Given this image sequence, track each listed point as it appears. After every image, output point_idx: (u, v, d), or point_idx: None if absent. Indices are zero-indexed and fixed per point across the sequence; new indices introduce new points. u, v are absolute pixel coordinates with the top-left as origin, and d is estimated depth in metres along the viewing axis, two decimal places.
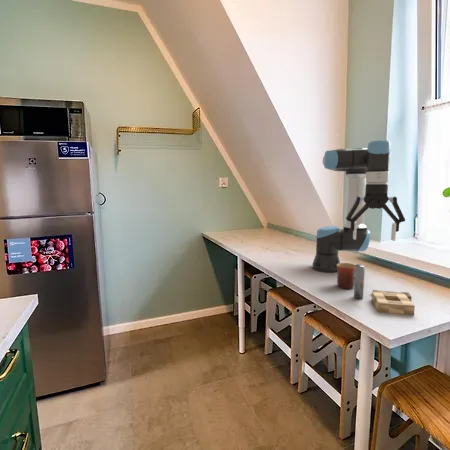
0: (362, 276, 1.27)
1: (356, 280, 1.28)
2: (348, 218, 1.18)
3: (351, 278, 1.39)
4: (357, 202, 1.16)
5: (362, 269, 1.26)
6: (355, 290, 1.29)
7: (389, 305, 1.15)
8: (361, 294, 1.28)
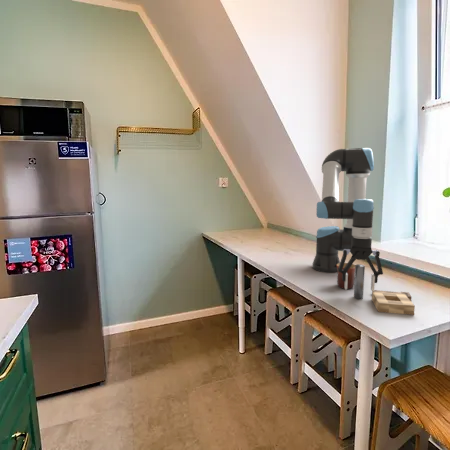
0: (362, 276, 1.27)
1: (356, 280, 1.28)
2: (340, 270, 1.29)
3: (351, 278, 1.39)
4: (344, 255, 1.27)
5: (362, 269, 1.26)
6: (355, 290, 1.29)
7: (389, 305, 1.15)
8: (361, 294, 1.28)
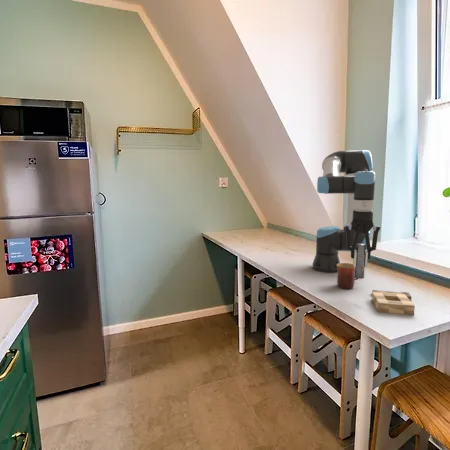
0: (363, 255, 1.26)
1: (357, 259, 1.27)
2: (348, 247, 1.27)
3: (351, 278, 1.39)
4: (347, 231, 1.26)
5: (363, 248, 1.25)
6: (356, 269, 1.28)
7: (389, 305, 1.15)
8: (362, 273, 1.27)
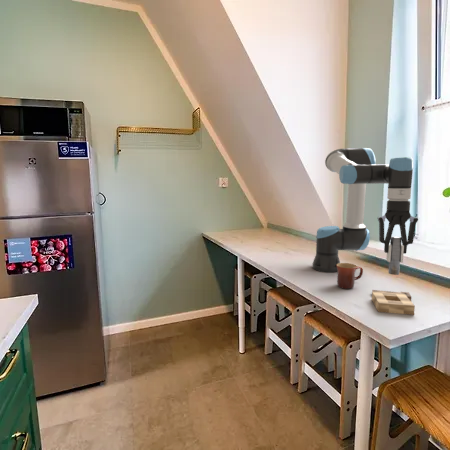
0: (399, 249, 1.15)
1: (392, 253, 1.16)
2: (382, 240, 1.16)
3: (351, 278, 1.39)
4: (381, 223, 1.16)
5: (399, 241, 1.15)
6: (390, 265, 1.17)
7: (389, 305, 1.15)
8: (398, 269, 1.16)
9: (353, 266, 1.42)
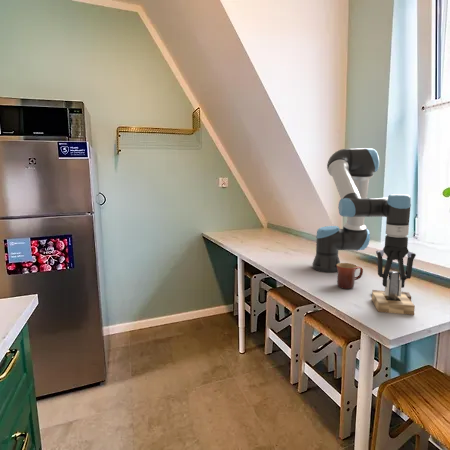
0: (397, 284, 1.17)
1: (390, 288, 1.18)
2: (380, 274, 1.18)
3: (351, 278, 1.39)
4: (380, 257, 1.18)
5: (397, 276, 1.17)
6: (388, 299, 1.19)
7: (389, 305, 1.15)
8: None
9: (353, 266, 1.42)
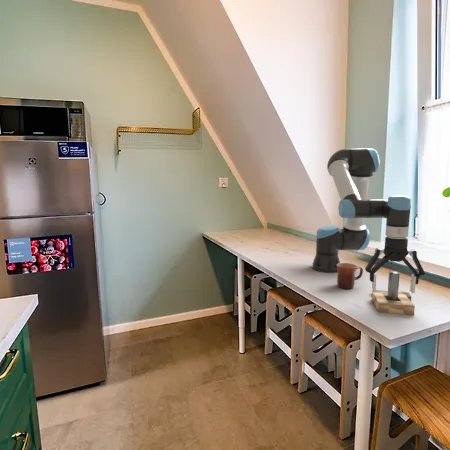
0: (397, 284, 1.17)
1: (390, 288, 1.18)
2: (368, 270, 1.19)
3: (351, 278, 1.39)
4: (377, 255, 1.18)
5: (397, 276, 1.16)
6: (389, 299, 1.19)
7: (389, 305, 1.15)
8: None
9: (353, 266, 1.42)
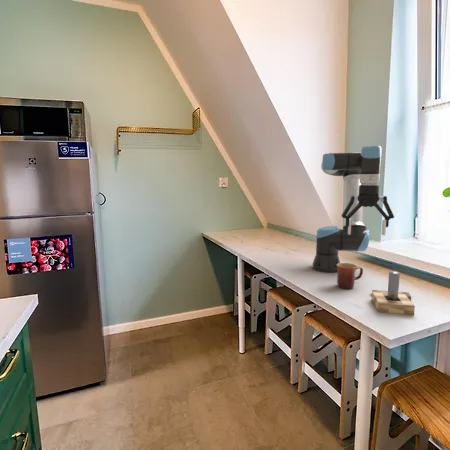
0: (397, 284, 1.17)
1: (390, 288, 1.18)
2: (343, 215, 1.31)
3: (351, 278, 1.39)
4: (351, 201, 1.30)
5: (397, 276, 1.16)
6: (389, 299, 1.19)
7: (389, 305, 1.15)
8: None
9: (353, 266, 1.42)
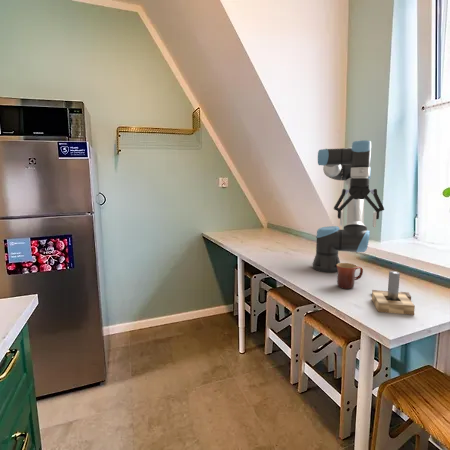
0: (397, 284, 1.17)
1: (390, 288, 1.18)
2: (335, 208, 1.36)
3: (351, 278, 1.39)
4: (343, 194, 1.34)
5: (397, 276, 1.16)
6: (389, 299, 1.19)
7: (389, 305, 1.15)
8: None
9: (353, 266, 1.42)
